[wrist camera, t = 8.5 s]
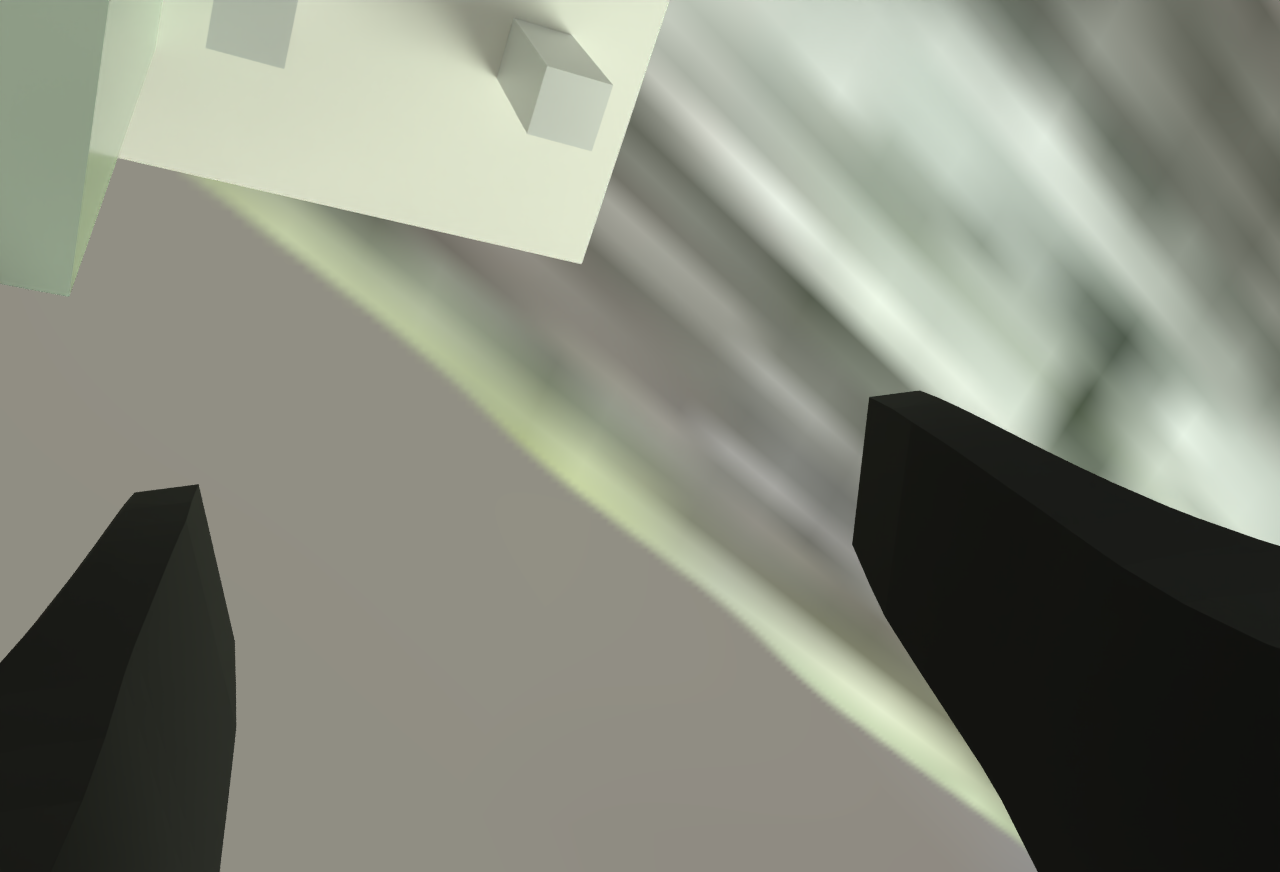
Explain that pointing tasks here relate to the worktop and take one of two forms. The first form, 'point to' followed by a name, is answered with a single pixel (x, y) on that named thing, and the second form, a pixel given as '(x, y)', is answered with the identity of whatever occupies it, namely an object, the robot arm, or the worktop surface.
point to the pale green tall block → (63, 125)
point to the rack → (404, 107)
